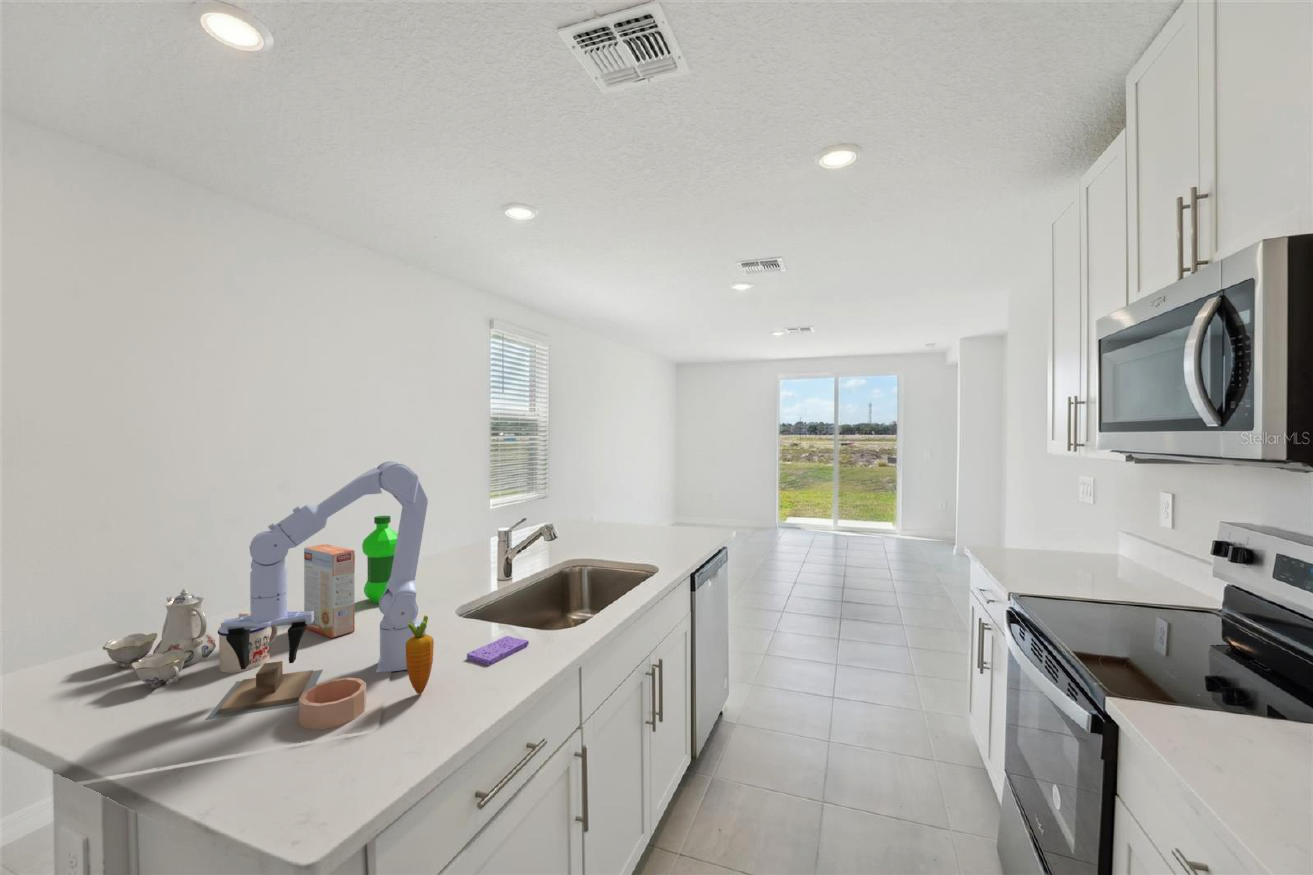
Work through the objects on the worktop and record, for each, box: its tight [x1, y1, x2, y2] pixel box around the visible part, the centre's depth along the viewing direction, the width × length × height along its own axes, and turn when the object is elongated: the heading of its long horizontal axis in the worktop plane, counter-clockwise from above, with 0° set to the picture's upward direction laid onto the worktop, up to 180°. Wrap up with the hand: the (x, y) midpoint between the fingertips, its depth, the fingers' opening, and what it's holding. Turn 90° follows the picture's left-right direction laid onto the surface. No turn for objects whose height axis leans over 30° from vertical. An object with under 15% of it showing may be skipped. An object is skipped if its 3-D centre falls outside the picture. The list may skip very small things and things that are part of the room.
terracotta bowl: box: [298, 677, 367, 730], centre depth 96 cm, size 10×10×4 cm
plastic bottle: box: [361, 515, 398, 604], centre depth 160 cm, size 10×10×25 cm
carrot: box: [406, 615, 434, 695], centre depth 104 cm, size 5×5×15 cm
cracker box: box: [303, 543, 356, 639], centre depth 136 cm, size 14×6×21 cm, turn 58°
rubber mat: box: [205, 669, 324, 721], centre depth 104 cm, size 15×15×1 cm
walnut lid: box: [219, 660, 314, 714], centre depth 103 cm, size 12×12×5 cm
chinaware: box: [102, 588, 217, 689], centre depth 115 cm, size 28×17×17 cm, turn 64°
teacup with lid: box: [217, 610, 279, 674], centre depth 117 cm, size 12×9×12 cm
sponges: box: [466, 635, 530, 666], centre depth 124 cm, size 7×13×2 cm, turn 151°
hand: (269, 664), depth 103 cm, fingers open, 7 cm apart
